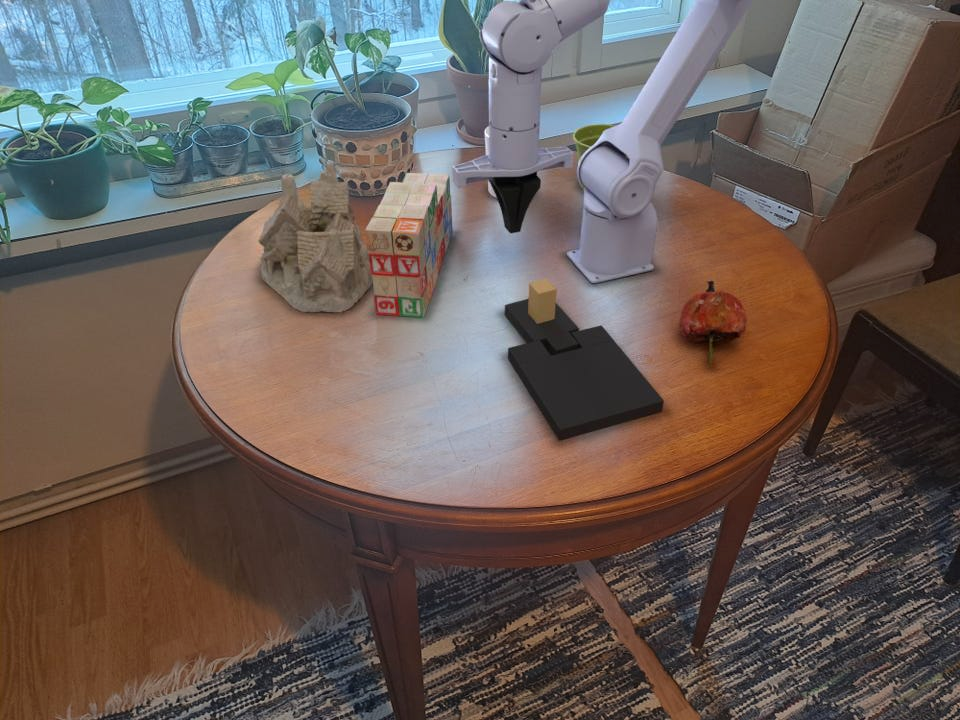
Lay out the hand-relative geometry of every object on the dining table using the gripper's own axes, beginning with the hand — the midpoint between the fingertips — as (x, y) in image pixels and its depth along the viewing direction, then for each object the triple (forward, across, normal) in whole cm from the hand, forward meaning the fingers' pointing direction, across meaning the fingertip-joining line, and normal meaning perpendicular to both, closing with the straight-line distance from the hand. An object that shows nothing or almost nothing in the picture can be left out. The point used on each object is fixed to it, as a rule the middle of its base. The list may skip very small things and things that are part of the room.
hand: (512, 229), depth 88 cm
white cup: (+9, -10, -25) cm, 28 cm away
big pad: (+8, 0, +21) cm, 22 cm away
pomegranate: (+9, -17, +20) cm, 28 cm away
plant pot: (+9, -24, -21) cm, 33 cm away
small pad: (+8, 0, +11) cm, 14 cm away
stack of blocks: (+9, +11, -8) cm, 16 cm away
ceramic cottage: (+8, +24, -11) cm, 28 cm away
